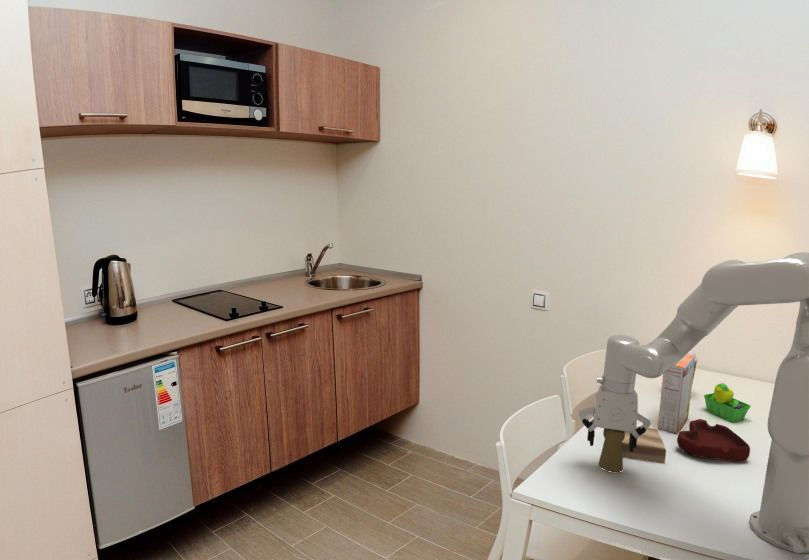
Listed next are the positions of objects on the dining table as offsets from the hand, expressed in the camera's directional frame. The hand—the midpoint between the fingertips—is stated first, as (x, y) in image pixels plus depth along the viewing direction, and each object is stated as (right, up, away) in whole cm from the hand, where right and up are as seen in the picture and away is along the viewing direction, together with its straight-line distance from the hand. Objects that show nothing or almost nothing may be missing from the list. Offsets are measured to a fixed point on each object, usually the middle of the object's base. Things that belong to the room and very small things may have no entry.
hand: (610, 446), depth 140 cm
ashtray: (+32, -5, +10) cm, 34 cm away
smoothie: (+42, +3, +48) cm, 64 cm away
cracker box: (+29, -1, +26) cm, 39 cm away
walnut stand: (+11, -4, +10) cm, 15 cm away
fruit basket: (+48, 0, +32) cm, 58 cm away
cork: (0, -6, +1) cm, 6 cm away
